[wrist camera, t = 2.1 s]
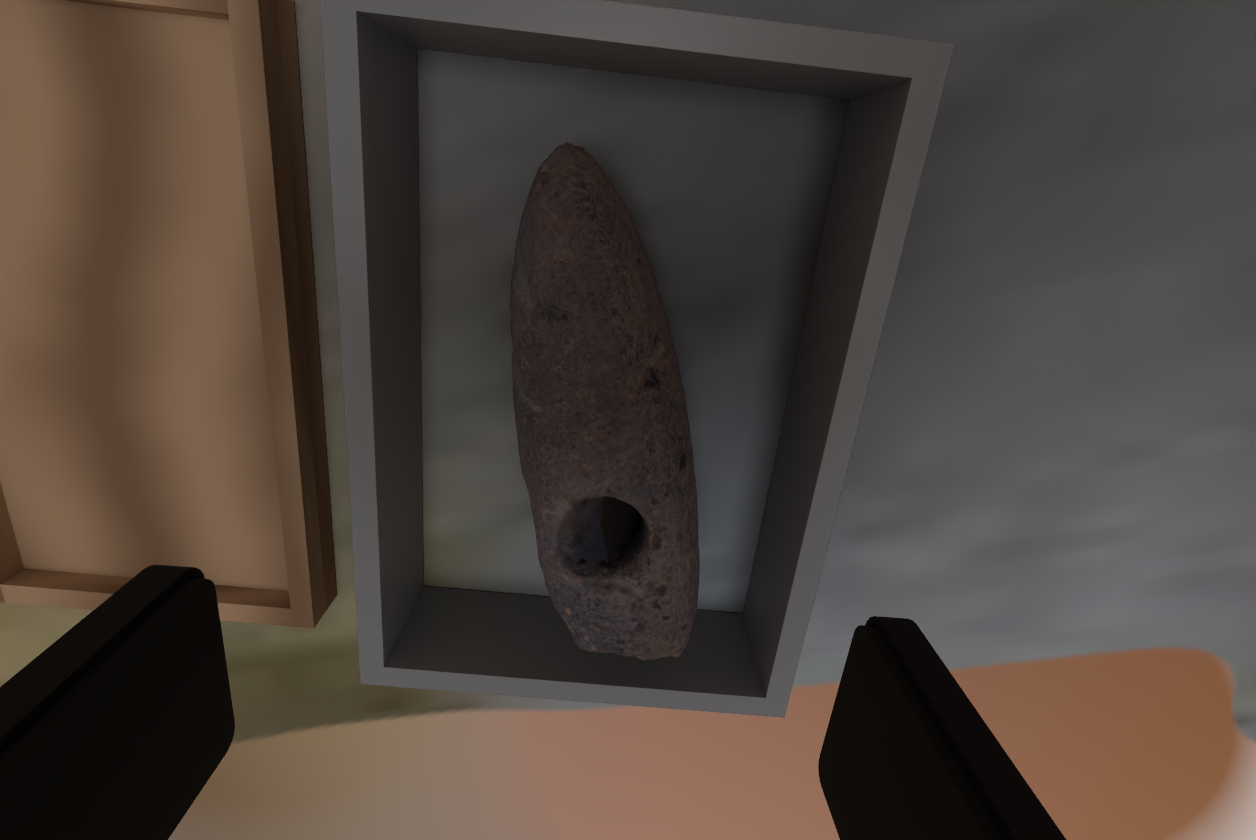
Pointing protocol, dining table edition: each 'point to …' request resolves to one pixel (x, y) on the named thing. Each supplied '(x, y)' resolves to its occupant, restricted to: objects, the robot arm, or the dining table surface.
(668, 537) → the perforated stone tool
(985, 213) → the dining table surface
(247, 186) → the walnut tray
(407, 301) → the charcoal bin
